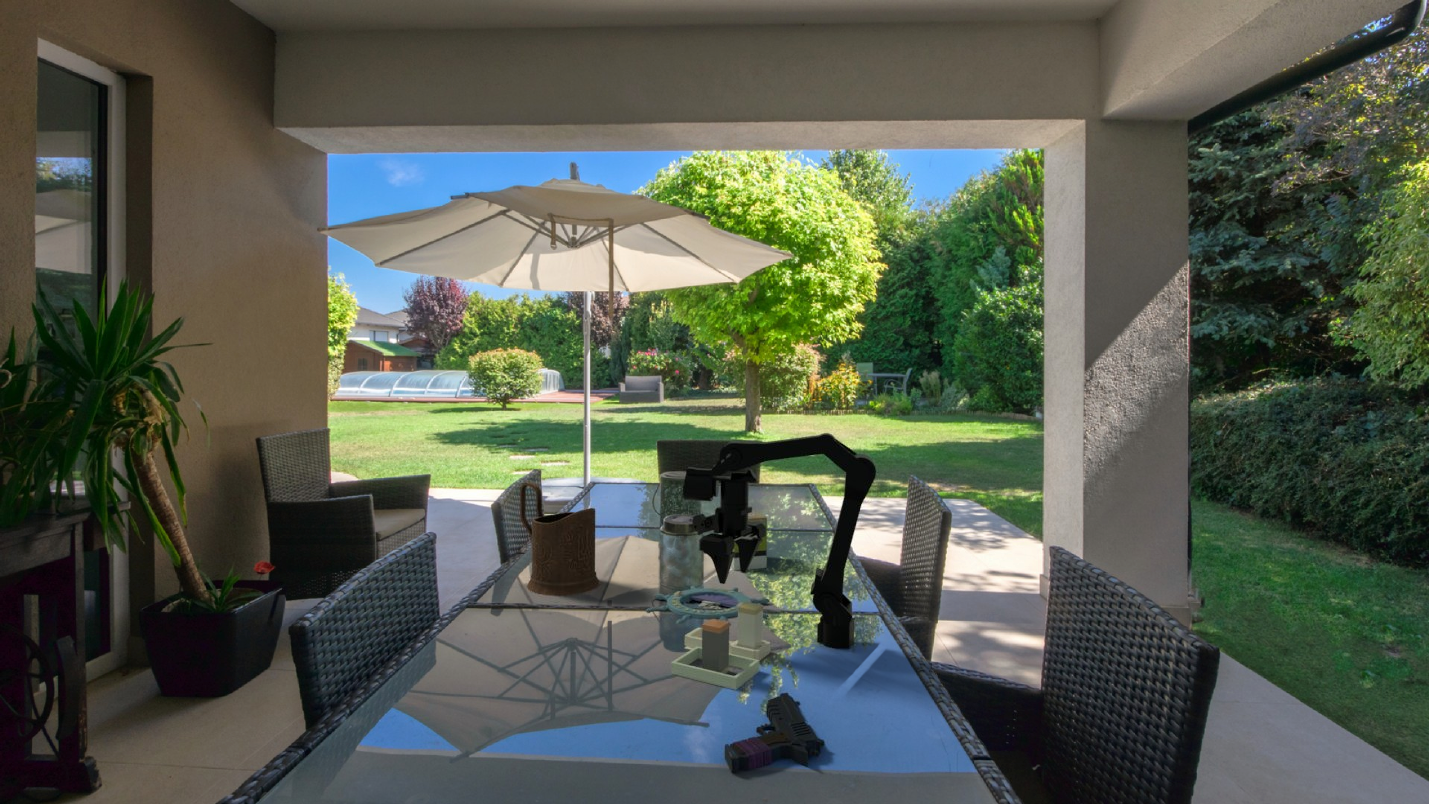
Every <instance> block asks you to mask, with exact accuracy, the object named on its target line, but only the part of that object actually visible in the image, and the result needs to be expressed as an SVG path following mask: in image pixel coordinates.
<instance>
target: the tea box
mask: <svg viewBox="0 0 1429 804" xmlns="http://www.w3.org/2000/svg"><path fill="white" fill-rule="evenodd" d="M748 521H751V522H758V523H763V525H764V526H765V527H766V536H765V537H763V538H762V539H763V541H762V542H761V543H760V545H759V547H758V549H757V551H756V553H755V555H754V557H753V559H752V561H751V563H750V565H749V567H748V570H749V571H750V570H761V569H766V568H767V564H768V563H767V562H768V559H767V558H768V557H767V556H768V555H767V554H768V546H767V543H768V542H767V541H768V540H767V539H768V517H766V516H765V515H763V514H762V513H760V512H758V511H757V510H755V509H753V508H752V512H750V513H748ZM719 534H721V535H722V533H719ZM757 538H758V537H757ZM733 552H735V554H734V557H733V561H732V564H731V567H730V569H732V570H733V571H741V570H740V562H739V550H738V545H737V544H736V543H735V547H734V549H733ZM748 570H747V571H748Z"/></svg>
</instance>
